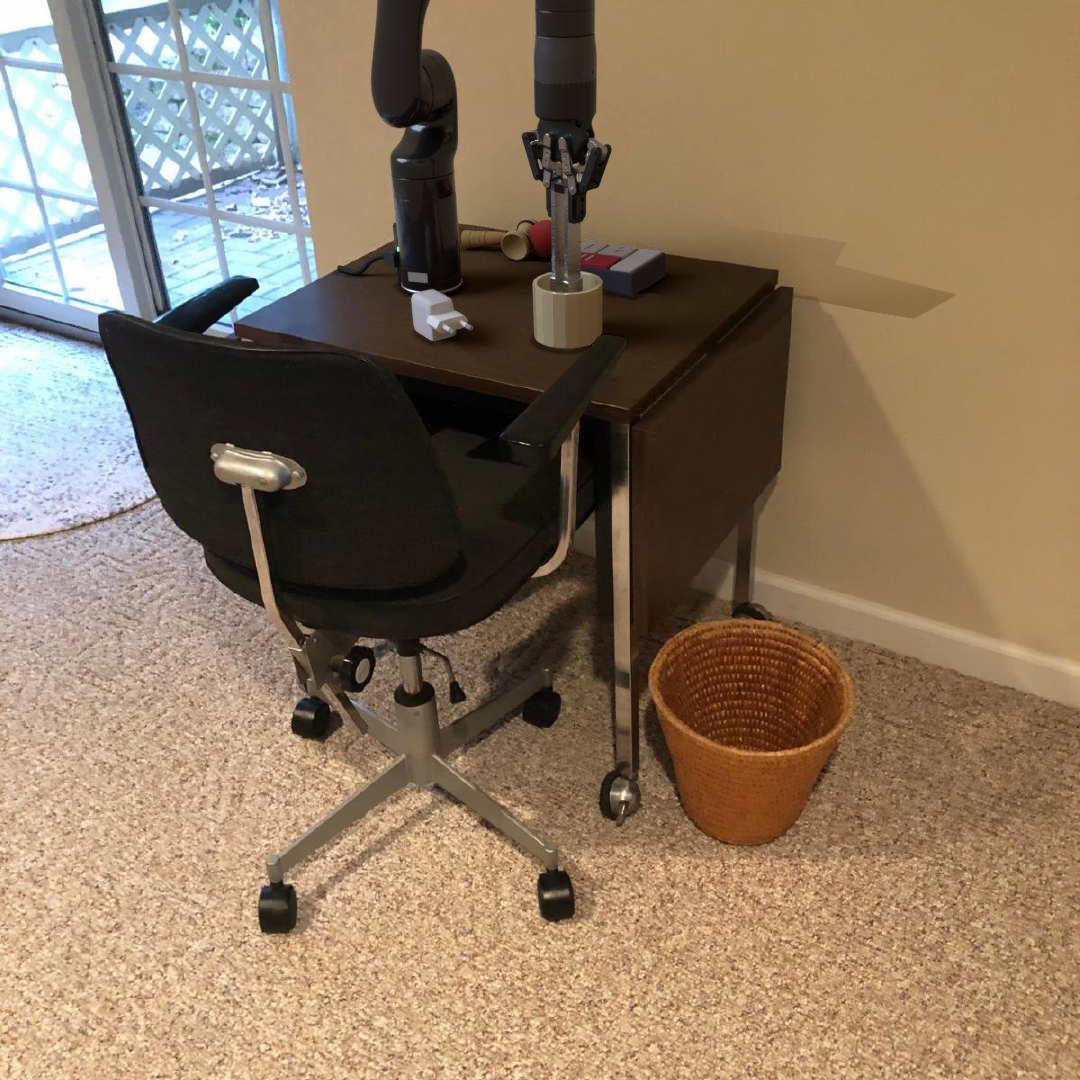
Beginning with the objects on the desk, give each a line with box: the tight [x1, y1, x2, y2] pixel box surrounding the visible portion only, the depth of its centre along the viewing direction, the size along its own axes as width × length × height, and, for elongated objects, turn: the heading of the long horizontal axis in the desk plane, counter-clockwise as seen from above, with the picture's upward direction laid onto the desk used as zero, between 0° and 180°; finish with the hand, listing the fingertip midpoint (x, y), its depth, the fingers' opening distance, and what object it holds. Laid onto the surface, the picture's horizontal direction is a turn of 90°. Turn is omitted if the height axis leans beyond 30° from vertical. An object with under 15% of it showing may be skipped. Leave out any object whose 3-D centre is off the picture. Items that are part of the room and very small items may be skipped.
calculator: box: [546, 241, 667, 296], centre depth 164 cm, size 11×4×15 cm
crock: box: [532, 271, 604, 349], centre depth 144 cm, size 9×9×8 cm
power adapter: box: [410, 289, 474, 342], centre depth 145 cm, size 11×5×6 cm, turn 34°
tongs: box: [550, 177, 583, 293], centre depth 138 cm, size 3×3×14 cm
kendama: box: [460, 217, 552, 261], centre depth 176 cm, size 8×6×18 cm
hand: (565, 218), depth 137 cm, fingers closed on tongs, 3 cm apart
